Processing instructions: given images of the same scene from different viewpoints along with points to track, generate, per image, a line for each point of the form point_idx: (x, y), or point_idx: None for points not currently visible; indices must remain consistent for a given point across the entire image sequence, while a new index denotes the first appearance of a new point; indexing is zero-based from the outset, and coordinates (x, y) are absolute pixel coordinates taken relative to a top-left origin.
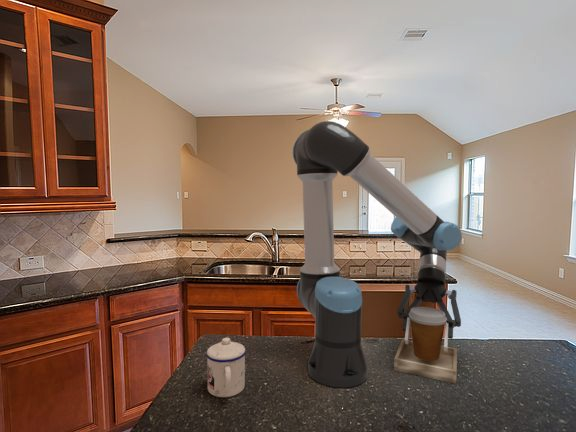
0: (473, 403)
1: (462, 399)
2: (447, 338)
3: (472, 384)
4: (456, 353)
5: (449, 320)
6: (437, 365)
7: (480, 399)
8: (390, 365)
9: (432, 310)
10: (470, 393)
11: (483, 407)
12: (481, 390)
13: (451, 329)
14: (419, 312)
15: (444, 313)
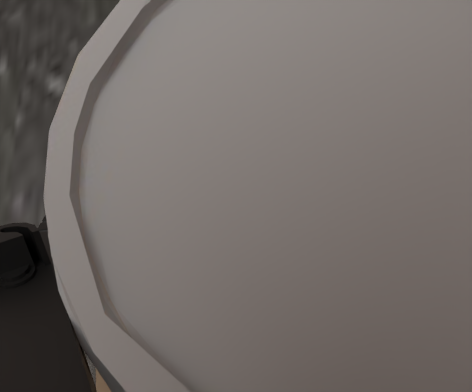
0: (45, 22)
1: (84, 28)
2: None
3: (42, 173)
4: (99, 380)
5: (28, 284)
6: None
7: (17, 64)
8: None
9: (299, 374)
10: (53, 89)
11: (11, 15)
12: (7, 139)
13: (46, 240)
14: (463, 112)
15: (54, 217)
